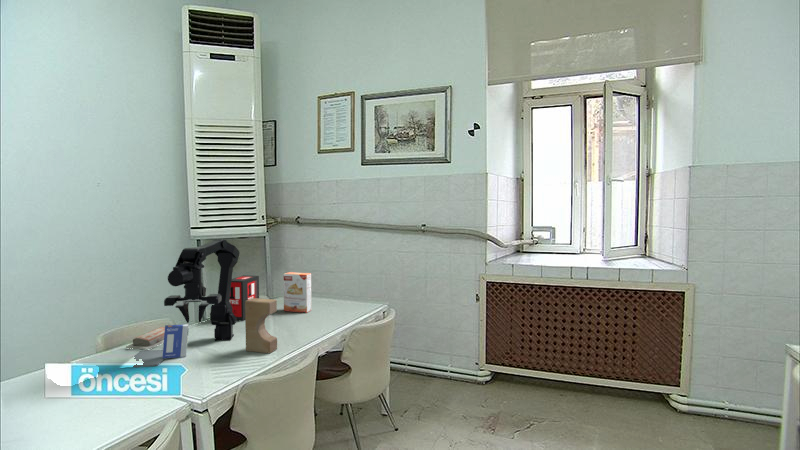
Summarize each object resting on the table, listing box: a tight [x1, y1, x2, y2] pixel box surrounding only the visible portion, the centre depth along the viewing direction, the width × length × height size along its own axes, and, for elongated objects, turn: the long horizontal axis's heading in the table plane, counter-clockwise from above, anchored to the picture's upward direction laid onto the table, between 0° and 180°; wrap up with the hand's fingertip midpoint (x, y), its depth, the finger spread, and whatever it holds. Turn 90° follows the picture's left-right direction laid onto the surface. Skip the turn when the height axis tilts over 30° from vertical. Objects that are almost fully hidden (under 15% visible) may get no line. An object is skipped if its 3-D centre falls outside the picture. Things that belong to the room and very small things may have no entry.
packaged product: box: [125, 326, 165, 350], centre depth 167 cm, size 18×5×10 cm
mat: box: [133, 349, 166, 368], centre depth 149 cm, size 12×16×1 cm
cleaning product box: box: [229, 274, 260, 322], centre depth 208 cm, size 16×9×20 cm, turn 172°
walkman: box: [162, 323, 190, 359], centre depth 150 cm, size 8×3×12 cm, turn 118°
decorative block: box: [244, 297, 278, 354], centre depth 158 cm, size 11×6×20 cm, turn 73°
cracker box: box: [283, 271, 312, 313], centre depth 219 cm, size 14×6×21 cm, turn 76°
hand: (194, 322), depth 151 cm, fingers open, 4 cm apart
